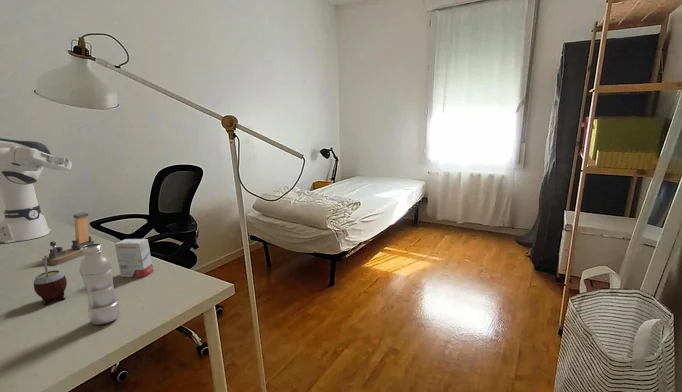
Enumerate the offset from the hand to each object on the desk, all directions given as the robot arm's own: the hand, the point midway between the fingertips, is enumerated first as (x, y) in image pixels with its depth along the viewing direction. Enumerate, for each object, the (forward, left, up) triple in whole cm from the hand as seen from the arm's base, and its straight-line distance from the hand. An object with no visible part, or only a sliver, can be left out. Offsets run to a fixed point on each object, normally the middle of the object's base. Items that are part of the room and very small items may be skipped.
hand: (66, 160), depth 130 cm
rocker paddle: (+2, -2, -33) cm, 33 cm away
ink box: (+43, -17, -37) cm, 59 cm away
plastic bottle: (+58, -42, -37) cm, 80 cm away
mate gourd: (+33, -36, -37) cm, 61 cm away
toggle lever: (+2, -12, -33) cm, 35 cm away
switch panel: (+2, -7, -37) cm, 37 cm away
